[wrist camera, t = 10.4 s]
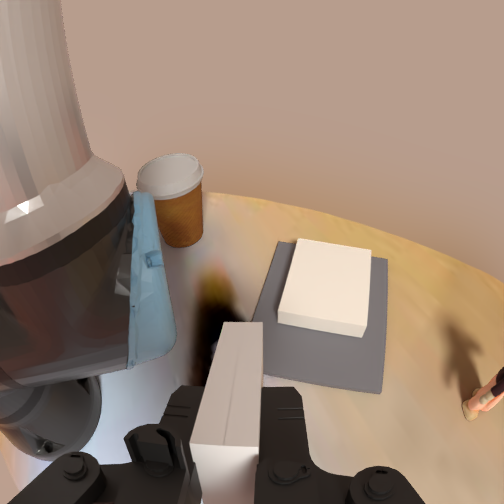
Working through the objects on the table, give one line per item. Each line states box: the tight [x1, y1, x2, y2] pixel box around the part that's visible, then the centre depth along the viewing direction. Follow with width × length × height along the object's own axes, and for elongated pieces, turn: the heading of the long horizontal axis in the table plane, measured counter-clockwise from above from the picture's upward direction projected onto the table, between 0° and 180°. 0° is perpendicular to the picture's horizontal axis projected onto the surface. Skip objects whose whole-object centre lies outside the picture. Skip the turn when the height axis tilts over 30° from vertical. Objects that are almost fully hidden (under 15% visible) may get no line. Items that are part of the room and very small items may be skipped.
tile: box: [278, 238, 371, 338], centre depth 39 cm, size 10×3×12 cm
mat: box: [252, 241, 388, 394], centre depth 39 cm, size 16×20×1 cm
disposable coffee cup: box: [136, 153, 203, 248], centre depth 46 cm, size 10×10×12 cm
